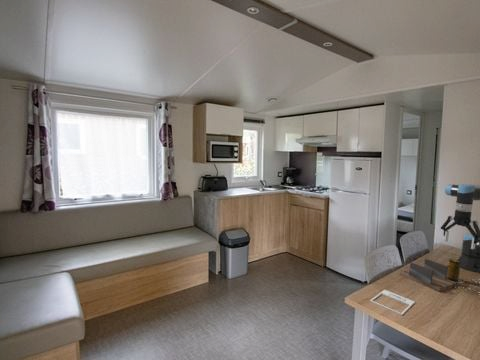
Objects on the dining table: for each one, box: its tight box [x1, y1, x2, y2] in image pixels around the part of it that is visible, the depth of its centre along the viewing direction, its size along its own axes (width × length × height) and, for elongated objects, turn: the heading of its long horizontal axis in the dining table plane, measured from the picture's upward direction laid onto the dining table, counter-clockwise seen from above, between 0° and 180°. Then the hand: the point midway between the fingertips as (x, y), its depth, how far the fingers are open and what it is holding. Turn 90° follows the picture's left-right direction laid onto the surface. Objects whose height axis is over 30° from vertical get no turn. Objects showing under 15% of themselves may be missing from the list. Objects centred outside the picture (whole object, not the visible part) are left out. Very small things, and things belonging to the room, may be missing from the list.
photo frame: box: [369, 289, 416, 316], centre depth 135 cm, size 15×1×18 cm
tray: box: [399, 258, 457, 293], centre depth 161 cm, size 18×22×10 cm
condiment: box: [446, 258, 466, 284], centre depth 163 cm, size 7×8×12 cm
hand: (458, 244), depth 161 cm, fingers open, 13 cm apart
